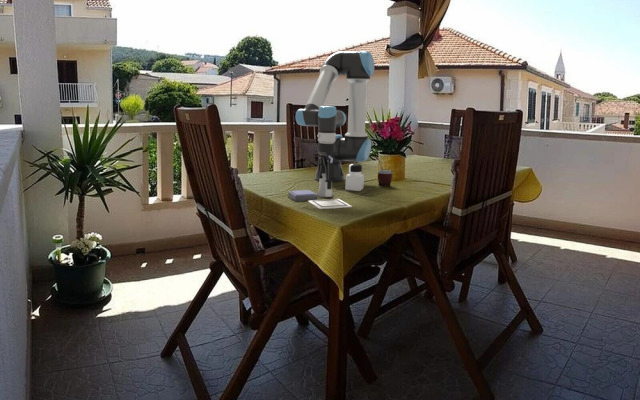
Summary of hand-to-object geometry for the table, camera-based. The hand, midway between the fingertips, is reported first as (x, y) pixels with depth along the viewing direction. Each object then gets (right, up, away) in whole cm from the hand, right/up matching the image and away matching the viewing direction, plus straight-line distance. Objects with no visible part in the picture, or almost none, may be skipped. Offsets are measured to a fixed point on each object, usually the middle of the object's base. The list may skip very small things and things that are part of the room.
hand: (325, 194), depth 216 cm
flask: (0, -1, 0) cm, 1 cm away
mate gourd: (+29, +4, +27) cm, 40 cm away
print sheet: (+2, -4, -16) cm, 16 cm away
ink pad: (-10, -2, -5) cm, 11 cm away
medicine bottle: (+14, +2, +17) cm, 22 cm away
